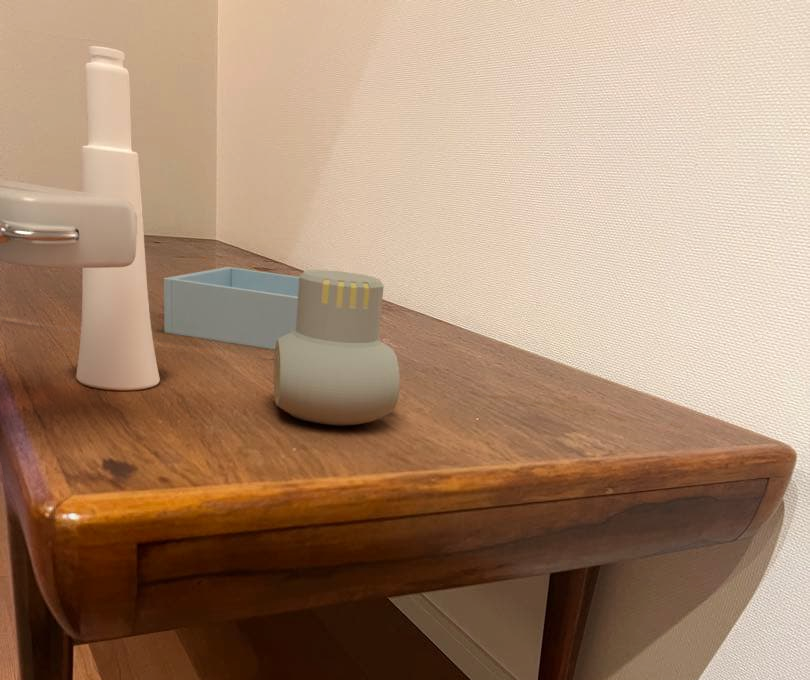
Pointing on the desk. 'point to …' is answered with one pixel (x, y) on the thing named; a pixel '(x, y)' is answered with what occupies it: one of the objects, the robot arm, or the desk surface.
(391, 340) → the desk surface
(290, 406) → the air freshener
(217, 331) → the basket
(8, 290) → the desk surface
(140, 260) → the cosmetic bottle
